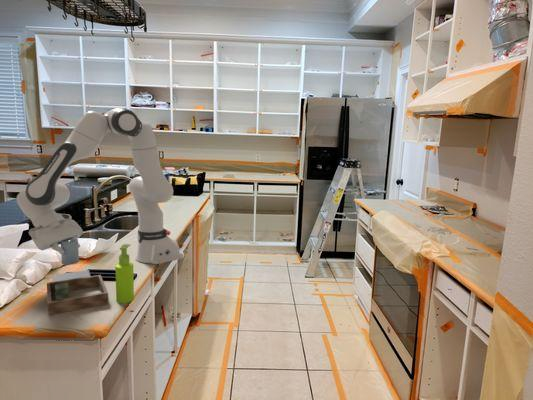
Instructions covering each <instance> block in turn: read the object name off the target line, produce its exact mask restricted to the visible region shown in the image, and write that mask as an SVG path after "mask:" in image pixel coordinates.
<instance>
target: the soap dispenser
mask: <svg viewBox="0 0 533 400" xmlns="http://www.w3.org/2000/svg"><path fill="white" fill-rule="evenodd" d="M130 246H131V244H126V243H125V244H122V245H121V246H120V247H119V250H121V254H120V255H118V263H117V264H115V287H116V288H115V295H116V302H117V303H119V304H128V303H131V302H133V301H134V299H135V291H134V290H135V287H134V285H135V284H134V283H135V280H134V263H132V262H130V255H129V254H128V250H127V249H128V248H129V247H130Z"/></svg>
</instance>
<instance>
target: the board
mask: <svg viewBox="0 0 533 400" xmlns="http://www.w3.org/2000/svg"><path fill="white" fill-rule="evenodd" d="M90 276H91V273H90V271H89V269H86V270H78V271H72V272H65V273H58V274H52V282H56V281H63V280H70V279H76V278H83V277H90Z"/></svg>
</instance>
